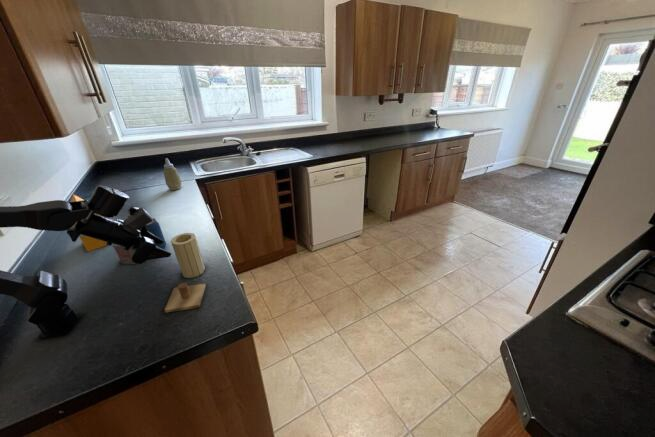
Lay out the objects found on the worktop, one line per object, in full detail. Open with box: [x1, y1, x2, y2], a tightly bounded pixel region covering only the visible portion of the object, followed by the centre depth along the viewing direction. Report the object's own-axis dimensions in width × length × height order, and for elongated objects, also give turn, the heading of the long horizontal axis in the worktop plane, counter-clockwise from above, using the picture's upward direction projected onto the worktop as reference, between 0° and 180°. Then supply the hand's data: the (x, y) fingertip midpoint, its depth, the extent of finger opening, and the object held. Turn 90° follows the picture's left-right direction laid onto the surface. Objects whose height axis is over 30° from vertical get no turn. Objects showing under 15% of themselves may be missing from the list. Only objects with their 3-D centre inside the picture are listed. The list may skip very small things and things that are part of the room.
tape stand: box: [164, 282, 207, 314], centre depth 78 cm, size 9×9×5 cm
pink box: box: [111, 244, 135, 265], centre depth 93 cm, size 8×3×10 cm, turn 92°
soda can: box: [145, 217, 167, 250], centre depth 99 cm, size 7×7×12 cm
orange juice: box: [70, 193, 107, 252], centre depth 102 cm, size 8×9×20 cm
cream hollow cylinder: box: [170, 232, 206, 279], centre depth 87 cm, size 7×7×13 cm
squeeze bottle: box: [163, 157, 182, 191], centre depth 154 cm, size 8×8×18 cm
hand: (166, 248), depth 82 cm, fingers open, 9 cm apart
